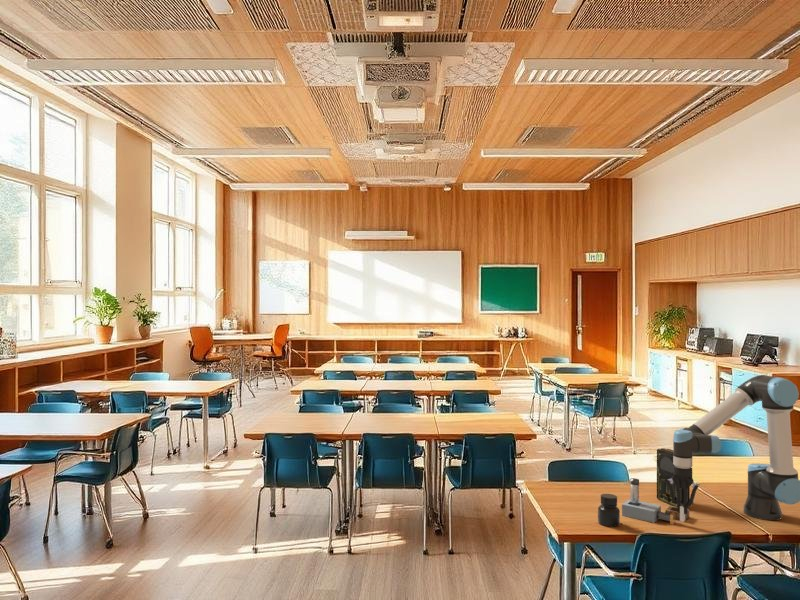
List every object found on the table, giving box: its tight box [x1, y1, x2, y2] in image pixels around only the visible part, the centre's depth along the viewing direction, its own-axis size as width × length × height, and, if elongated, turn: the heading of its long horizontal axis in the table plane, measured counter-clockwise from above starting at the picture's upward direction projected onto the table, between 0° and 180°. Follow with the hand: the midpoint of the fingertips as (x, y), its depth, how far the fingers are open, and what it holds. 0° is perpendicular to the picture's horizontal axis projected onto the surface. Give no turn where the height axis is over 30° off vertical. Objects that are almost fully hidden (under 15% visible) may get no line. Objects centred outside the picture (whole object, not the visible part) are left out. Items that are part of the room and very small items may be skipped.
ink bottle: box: [597, 493, 621, 528], centre depth 256 cm, size 10×9×12 cm
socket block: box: [621, 498, 662, 524], centre depth 265 cm, size 14×10×5 cm
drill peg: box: [629, 478, 640, 506], centre depth 267 cm, size 4×4×16 cm
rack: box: [665, 505, 690, 523], centre depth 264 cm, size 8×8×4 cm
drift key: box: [657, 511, 677, 525], centre depth 259 cm, size 9×4×4 cm, turn 51°
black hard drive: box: [656, 447, 691, 507], centre depth 284 cm, size 16×9×25 cm, turn 16°
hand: (682, 520), depth 254 cm, fingers closed
